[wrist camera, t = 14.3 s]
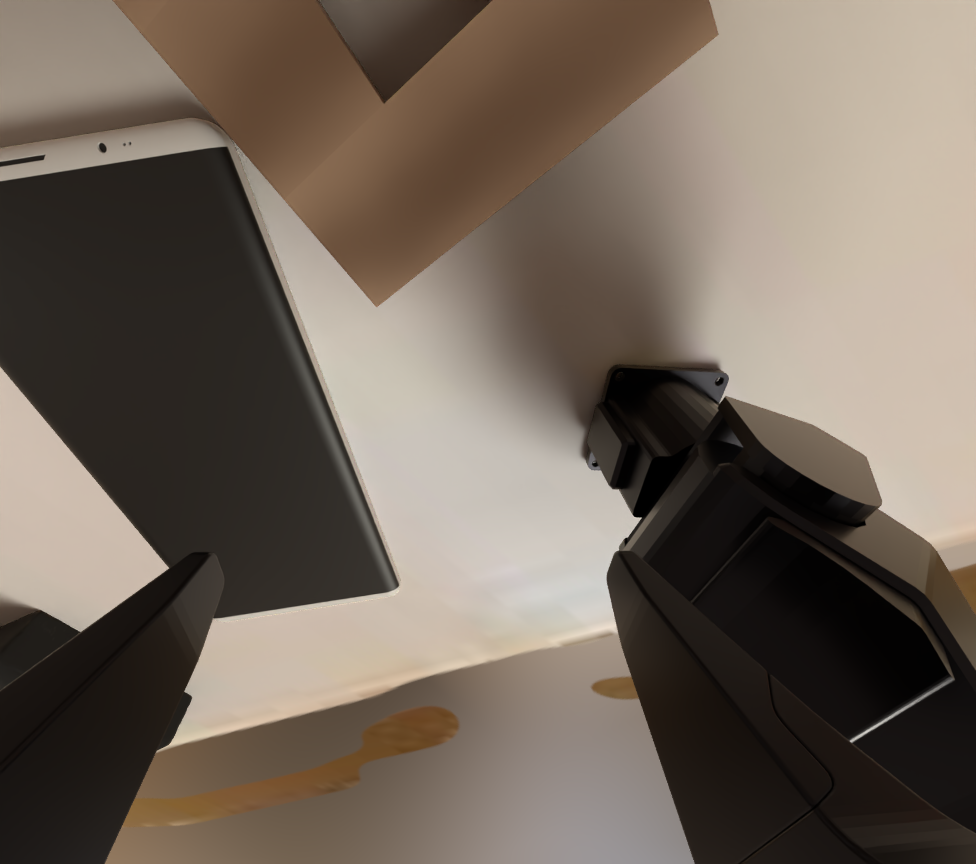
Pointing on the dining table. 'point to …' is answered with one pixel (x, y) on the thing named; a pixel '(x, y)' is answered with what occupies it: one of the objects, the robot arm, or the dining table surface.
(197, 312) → the smartphone
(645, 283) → the dining table surface
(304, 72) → the bore caddy
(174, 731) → the coral
